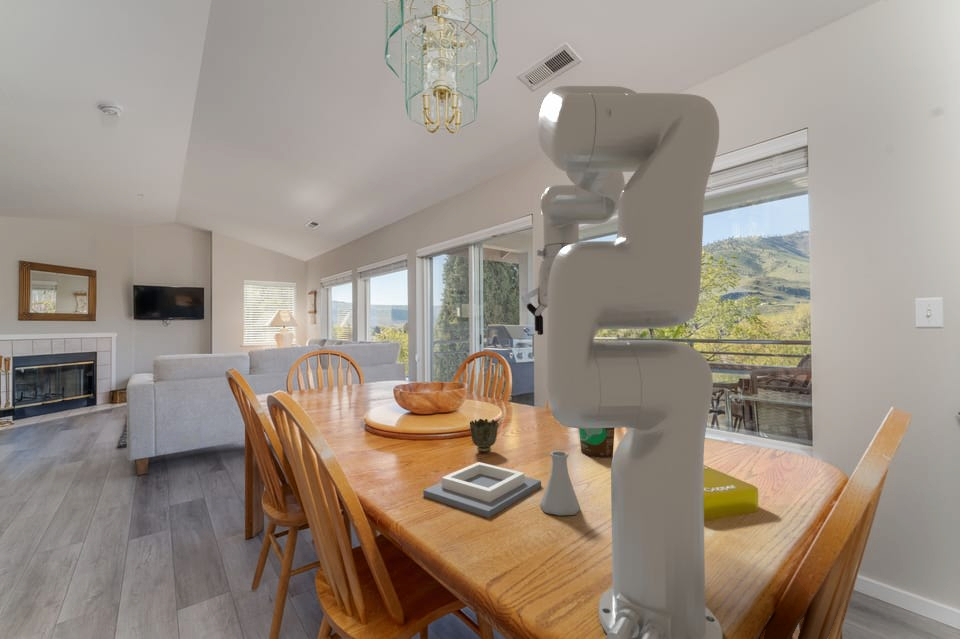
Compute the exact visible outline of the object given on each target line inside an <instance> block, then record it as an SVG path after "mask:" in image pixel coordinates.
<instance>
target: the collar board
mask: <svg viewBox="0 0 960 639" xmlns="http://www.w3.org/2000/svg"><path fill="white" fill-rule="evenodd" d="M537 488H538V489H539V488H542V480H539V479H536V478H532V477H528V476H526V475H525V472H522V471H517V470H513V469H509V468H505V467H501V466H498V465H497V466H496V465H493V464H489V463H485V462H480V461H478V462H475V463H472V464H471V465H468V466H466V467H463V468H462V469H459V470H456V471H454V472H451V473H449V474H446V475H445V476H443V477H441V482H439V483H437V484H434V485H431V486H430V487H427V488H425V489H423V492H422V494H423V497H425V498H428V499H431V500H434V501H437V502H440V503H442V504H445V505H449V506H452V507H454V508H457V509H461V510H463V511H466V512H470V513H472V514H475V515H477V516H481V517H483V518H486V519H487V518H488V519H489V518H491V517H494V516H495V515H496V514H498V513H499V512H501V511H502V510H505V509H506V508H507V507H510V506H511V505H513V504H514V503H516V502H518V501H519V500H521V499H522V498H525V497H526V496H527V495H529V494H532V493H533V492H534V491H536V490H538V489H537ZM532 491H533V492H532ZM504 508H505V509H504Z"/></svg>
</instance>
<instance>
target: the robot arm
mask: <svg viewBox="0 0 960 639" xmlns="http://www.w3.org/2000/svg"><path fill="white" fill-rule="evenodd" d="M537 138H538V142H539V144H540V148H541V149H542V152H544V153H545V155H546V156H547V157H548V159H549V160H550V161H551V162H552V163H553V164H554V166H555V167H556V168H557V169H558V170H560V171H561V170H562V171H564V172H565V173H566V176H567V177H568V179H569V180H570V181H571V183H573V184H557V185H555V184H554V185H551V186H549V187H547V188H545V191H544V192H543V193H542V194H541V197H540V212H541V215H542V217H543V248H541V249H537V250H536V255H537V257H542V261H541V262H540V266H539V272H538V282H537V284H538V285H537V287H536V288H535V289H533V290H531V291H529V292H528V293H527V292H526V293H525V294H523V295H522V297H521V300H522V301H523V304H524V305H525V307H526V309H527V310H528V312H530V313H531V314H532V315H533V316H534V331H535V332H537V335H539V336H542V335H544V317H543V316H542V313H543V312H544V311H545V309H546V308H547V319H546V320H547V324H546V325H547V327H546V328H547V330H546V335H547V337H546V394H547V395H546V396H547V402H548V407H549V410H550V413H551V416H552V417H553V418H554V420H556V422H557V423H559V424H560V425H562V426H564V427H568V428H571V429H579V428H615V429H618V428H620V429H623V428H625V429H627V431H626V432H625V433H624V435H623V436H622V438H621V440H620V441H619V443H618V444H617V446H616V449H614V450H615V451H614V452H613V457H612V460H611V466H610V488H611V489H610V491H611V493H610V501H611V506H610V507H611V509H610V510H611V560H612V561H611V566H612V567H611V569H612V570H611V571H612V573H611V574H612V578H611V579H612V586H611V587H610V588H607V590H606V591H605V592H604V593H603V594H602V595H601V597H600V599H599V602H598V616H599V617H598V618H599V622H600V625H601V627H602V629H603V631H604V632H605V633H606V636H605V639H723V630H722V626H721V624H720V622H719V620H718V618H717V617H716V616H715V615H714V614H713V612H712V611H711V610H710V609H709V608H708V607H707V606H706V576H705V575H706V571H705V570H706V567H705V566H706V564H705V563H706V562H705V559H706V558H705V520H704V493H703V492H704V477H703V466H704V459H705V458H704V457H705V456H704V455H705V454H704V453H705V441H706V431H707V426H708V419H709V414H710V411H711V410H710V409H711V404H712V399H713V386H714V385H713V384H714V379H713V373H712V370H711V367H710V364H709V362H708V361H707V359H706V357H705V356H704V355H703V354H702V353H701V352H700V351H699V350H697V349H696V348H694V347H693V346H690V345H688V344H687V343H683V342H680V341H679V342H678V341H674V340H673V341H672V340H664V339H662V340H661V339H648V340H647V339H642V340H639V339H638V340H635V339H634V340H631V339H629V340H628V339H626V340H602V341H601V340H599V341H597V340H596V341H595V340H594V339H595V338H596V337H595V336H596V334H597V333H598V332H599V331H603V330H637V329H638V330H639V329H640V330H641V329H642V330H646V329H665V328H674V327H678V326H682V325H683V324H686V323H687V322H689V321H690V320H692V318H693V317H694V315H695V314H696V311H697V308H698V304H699V299H700V290H701V278H702V277H701V276H702V256H703V255H702V254H703V238H704V237H703V234H704V206H705V196H706V195H705V194H706V190H707V186H708V181H709V178H710V174H711V172H712V168H713V166H714V162H715V159H716V155H717V151H718V147H719V140H720V121H719V115H718V112H717V110H716V108H715V106H714V105H713V103H711V101H710V100H709V99H707V98H705V97H704V96H702V95H701V96H700V95H696V94H691V93H675V92H674V93H672V92H669V93H668V92H665V93H664V92H663V93H662V92H660V93H659V92H636V91H635V90H634V89H630V88H627V87H623V86H617V85H616V86H613V85H563V86H562V85H561V86H557V87H555V88H553V89H552V90H550V92H549V93H548V94H547V95H546V97H545V98H544V100H543V102H542V104H541V108H540V111H539V115H538V121H537ZM624 172H625V173H628V172H629V173H630V172H631V173H632V172H633V174H632V176H630V178H629V180H628V181H627V183H626V182H625V181H626V180H625V177H624ZM625 183H626V184H625ZM616 213H617V234H616V238H615V241H614V240H612V241H611V240H609V241H607V240H606V241H605V240H604V241H601V240H599V241H597V240H595V241H594V240H593V241H580V230H579V229H580V225H599V224H604V223H606V222H608V221H609V220H610V219H612V217H614V215H615V214H616ZM536 296H537V304H538V305H537V307H535V306H534V305H533V303H532V302H531V298H534V297H536Z"/></svg>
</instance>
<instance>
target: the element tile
mask: <svg viewBox="0 0 960 639" xmlns="http://www.w3.org/2000/svg"><path fill="white" fill-rule="evenodd" d="M703 477H704V492H703V493H704V521H709V520H715V519H722V518H727V517H733V516H740V515H745V514H753V513H757V512H758V511H759V488H758V487H757V486H755V485H753V484H751V483H748V482H747V481H743V480H741V479H739V478H736V477H734V476H731V475H730V474H729V475H728V474H726V473H724V472H722V471H720V470H717V469H714V468H712V467H709V466H707V465H704V466H703Z"/></svg>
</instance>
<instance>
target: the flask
mask: <svg viewBox="0 0 960 639" xmlns="http://www.w3.org/2000/svg"><path fill="white" fill-rule="evenodd" d="M550 457H551V468H550V475H549V478H548V481H547V484H546V487H545V490H544V492H543V496H542V498H541V502H540V504H539V506H540V508H541V509H542V511H543V512H544V513H545V514H546V513H547V514H551V515H555V516H561V517H562V516H575V515H577V514H578V512H579V511H580V510H581V506H580V502H579V500H578V498H577V495H576V492H575V489H574V487H573V483H572V480H571V477H570V475H569V469H568V460H567V459H568V457H569V453H568V452H567V451H561V450H555V451H551V452H550Z"/></svg>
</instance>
